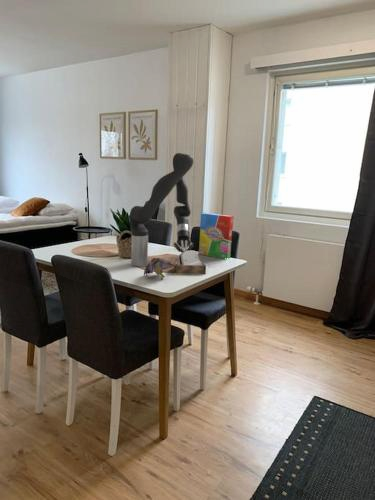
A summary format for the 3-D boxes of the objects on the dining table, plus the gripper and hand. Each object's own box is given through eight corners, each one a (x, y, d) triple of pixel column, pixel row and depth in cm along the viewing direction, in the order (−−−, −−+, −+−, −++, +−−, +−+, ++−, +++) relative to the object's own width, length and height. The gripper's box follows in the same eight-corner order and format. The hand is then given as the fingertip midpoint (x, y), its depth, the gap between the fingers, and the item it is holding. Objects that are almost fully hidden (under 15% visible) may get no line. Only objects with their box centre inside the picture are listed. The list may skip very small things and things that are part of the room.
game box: (198, 254, 243) (200, 213, 237) (202, 252, 248) (204, 212, 242) (227, 259, 233) (230, 216, 227) (230, 257, 238) (233, 215, 232)
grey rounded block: (186, 270, 204) (182, 252, 204) (179, 271, 207) (175, 254, 206) (202, 264, 218) (198, 247, 217) (195, 265, 220) (191, 249, 220)
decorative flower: (164, 254, 196) (169, 252, 182) (171, 275, 196) (177, 275, 182) (138, 263, 193) (141, 261, 178) (145, 284, 193) (149, 284, 178)
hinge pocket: (174, 273, 197) (174, 265, 196) (173, 269, 204) (173, 261, 203) (205, 273, 199) (206, 265, 198) (203, 270, 206) (204, 262, 205)
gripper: (172, 229, 220) (173, 253, 211) (194, 229, 222) (196, 254, 213) (171, 236, 227) (172, 260, 218) (193, 236, 228) (195, 260, 219)
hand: (184, 257), depth 215 cm, fingers closed
